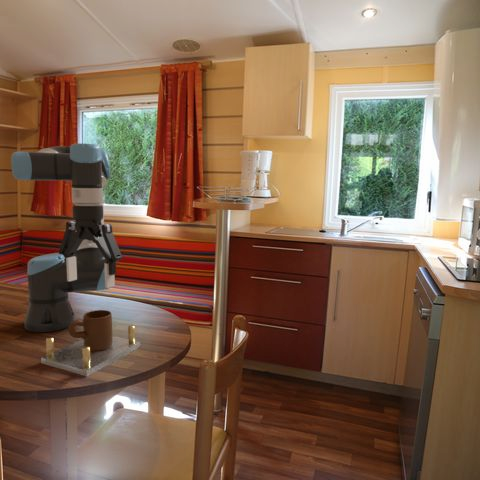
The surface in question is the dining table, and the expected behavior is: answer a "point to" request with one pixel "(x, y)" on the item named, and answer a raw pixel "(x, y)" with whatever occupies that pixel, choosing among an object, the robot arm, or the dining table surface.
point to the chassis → (88, 354)
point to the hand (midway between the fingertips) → (90, 283)
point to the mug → (94, 329)
